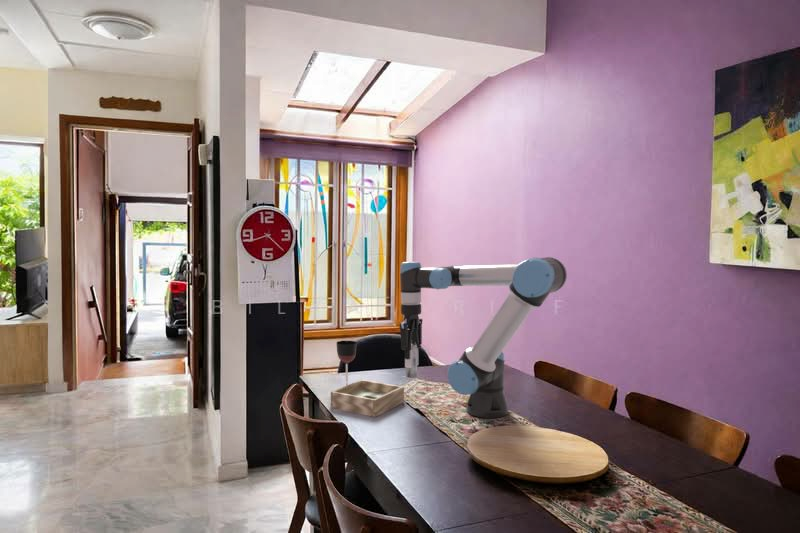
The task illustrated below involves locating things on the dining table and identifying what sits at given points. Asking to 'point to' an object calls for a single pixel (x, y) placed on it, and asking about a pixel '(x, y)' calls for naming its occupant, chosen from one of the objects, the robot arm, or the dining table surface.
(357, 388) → the box
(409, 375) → the peg
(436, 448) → the dining table surface
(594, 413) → the dining table surface
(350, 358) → the wineglass
